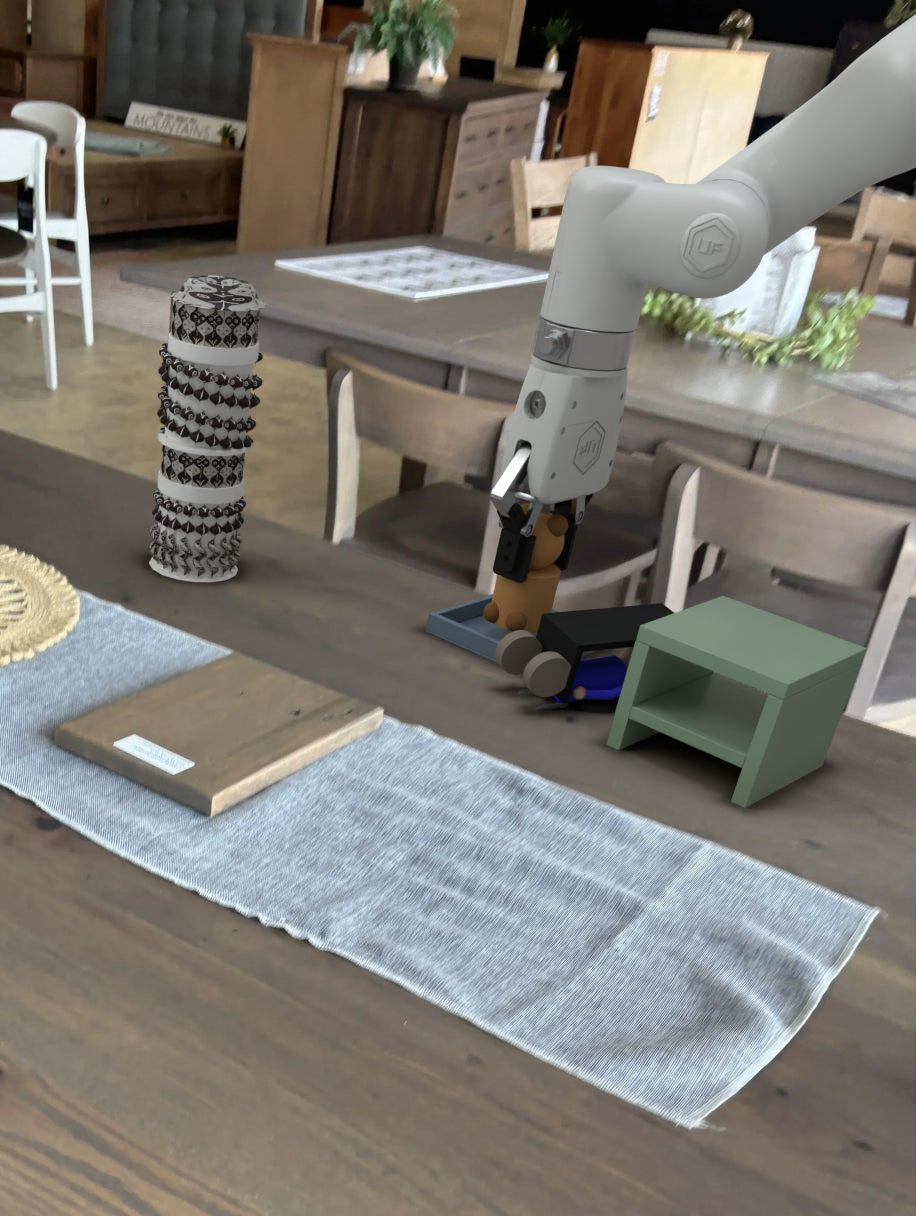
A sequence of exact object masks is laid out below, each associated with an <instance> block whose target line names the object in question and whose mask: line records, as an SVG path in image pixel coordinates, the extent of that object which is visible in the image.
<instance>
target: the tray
mask: <svg viewBox="0 0 916 1216" xmlns="http://www.w3.org/2000/svg"><path fill="white" fill-rule="evenodd" d="M492 598H493V593H492V594H488V595H485V596H481V597H478V598H475V599H471V600H469V601H465V602H461V603H459V604H458V603H457V604H455V605H452V606H448V607H446V608H442V609H439V610H435V611H432V612H429V613H428V617H427V622H426V628H425V632H426V633H429V634H431V635H433V636H436V637H438V638H440V639H442V640H444V641H446V642H449V643H451V644H454V645H456V646H458V647H460V648H463V649H465V650H467V651H469V652H471V653H474V654H476V655H479V656H481V657H482V658H485V659H488V660H490V661H491V662H494V663H497V661H496V659H495V650H496V647H497V645H498V643H499V642H500V641H501V640H502V638H504V637H505V636H506V635H507V634H509V633H511V632H512V631H510V630H506V629H503V628H501V627H498V626H496V625H495V624H493V623H491V622H488V621H487V620H486V619H485V617H484V614H483V612H484V608H485V606H486V605H487V604H489V603H490V602H492ZM553 612H559V611H558V610H556V609H553V608H552V611H551V613H553ZM531 634H532V635H533V636H535V637H536V635H537V633H531ZM598 651H599V650H597V651H587V652H583V654H582V657H585V656H587V655H589V654H593V653H595V652H598ZM497 664H498V663H497Z"/></svg>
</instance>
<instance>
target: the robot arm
mask: <svg viewBox="0 0 916 1216" xmlns="http://www.w3.org/2000/svg"><path fill="white" fill-rule="evenodd" d="M915 168H916V13H915V14H913V16H911V17H909V18H908V19H907V20H906V21H904V22H903V23H901V25H899V26H898V27H896V28H895V29H893V30H892V31H890V32H889V33H888V34H886V36H884V37H882V38H881V39H880V40H879V41H878V42H876V43H875V44H873V45H872V46H871V47H869V48H868V49H867V50H866V51H864V52H863V53H862V54H860V55H859V56H858V57H857V58H856V59H854V61H853V62H851V63H850V64H849V65H848V66H847V67H845V69H844V70H843V71H842V72H841V73H840V74H838V75H837V77H836V78H834V79H833V80H832V81H831V82H830V83H829V84H828V85H826V86H825V87H824V88H823V89H821V90H820V91H819V92H818V93H816V94H815V95H814V96H813V97H811V98H810V99H808V100H807V101H806V102H805V103H803V104H802V105H801V106H799V107H798V108H797V109H794V111H793V112H791V113H790V114H789V115H787V116H785V118H783V119H782V120H780V121H779V122H778V123H776V124H775V125H774V126H772V127H771V128H770V129H768V130H766V131H765V132H764V133H763V134H762V135H760V136H758V137H757V138H756V139H754V141H752V142H751V143H749V144H748V145H747V146H745V147H744V148H743V149H742V150H740V151H738V152H737V153H736V154H735V155H733V156H732V157H730V158H729V159H728V160H726V161H725V162H724V163H722V164H721V165H720V166H718V167H716V168H715V169H714V170H712V171H711V172H710V173H708V174H707V175H705V176H704V177H703V178H701V180H699V181H698V182H696V183H671V182H666V181H665V179H664V178H663V177H661V176H660V175H658V174H655V173H653V172H650V171H646V170H641V169H636V168H628V167H621V166H612V165H588V166H585V167H582V168H580V169H579V170H576V171H575V173H574V174H573V175H572V177H571V178H570V180H569V182H568V184H567V188H566V192H565V194H564V195H565V196H564V200H563V204H562V209H561V214H560V218H559V222H558V228H557V232H556V236H555V237H556V238H555V242H554V246H553V251H552V256H551V260H550V266H549V270H548V276H547V280H546V285H545V289H544V294H543V298H542V302H541V307H540V312H539V316H538V321H537V326H536V330H535V336H534V340H533V344H532V349H531V353H530V359H529V361H530V362H531V363H530V364H529V367H528V370H527V373H526V375H525V378H524V380H523V382H522V386H521V389H520V392H519V395H518V399H517V402H516V406H515V409H514V411H513V415H512V419H511V422H510V426H509V430H508V433H507V438H506V442H505V446H504V451H503V456H502V459H501V467H500V473H499V479H498V480H497V482H496V484H495V485H494V487H493V489H492V490H491V492H490V495H489V499H490V501H491V503H492V504H493V506H494V508H495V510H496V514H497V516H498V518H499V520H498V527H499V528H500V529H501V530H500V533H499V538H498V543H497V547H496V552H495V557H494V561H493V566H492V572H493V574H495V575H500V576H502V577H505V578H507V579H510V580H512V581H515V582H517V583H522V582H525V581H526V580H527V576H528V571H529V567H530V563H531V559H532V554H533V550H534V546H535V541H536V536H534V535H531V534H532V532H533V530H534V528H535V525H536V523H537V520H538V518H539V515H540V513H542V510H543V507H544V505H549V515H550V516H553V515H562V516H564V517H565V518H566V519H567V521H568V529H567V531H566V532H565V534H564V547H563V550H562V552H561V554H560V555H559V557H558V558H557V559H556V560H555V561H554V562H553V563H552V564H554V565H556V566H557V567H558V568H559V569H560V570H561V572H562V571H566V570H567V569H568V567H569V563H570V560H571V557H572V552H573V547H574V543H575V540H576V535H577V531H578V527H579V524H580V523H581V522H582V521H583V520H584V517H585V510H586V506H587V505H588V503H589V502H590V501H591V499H592V498H593V496H594V494H596V493H598V492H600V491H601V490H604V488H605V487H606V486H607V484H609V481H610V477H611V473H612V469H613V466H614V462H615V461H614V460H615V457H616V452H617V447H618V443H619V437H620V434H621V433H620V432H621V426H622V421H623V418H624V417H623V416H624V411H625V403H626V397H627V388H628V387H627V386H628V364H629V361H630V356H631V352H632V348H633V344H634V340H635V337H636V333H637V329H638V325H639V320H640V317H641V313H642V310H643V305H644V301H645V297H646V293H647V289H648V285H652V286H654V287H658V288H661V289H664V290H667V291H670V292H673V293H675V294H679V295H682V296H684V297H685V296H686V297H690V298H695V299H706V300H707V299H714V298H719V297H723V296H725V295H728V294H730V293H732V292H734V291H737V289H739V288H741V286H743V285H744V284H745V283H746V282H747V281H748V280H749V279H750V278H751V277H752V276H753V275H754V273H755V272H756V270H757V269H758V267H759V266H760V264H761V262H762V259H763V258H764V256H765V255H766V254H768V253H769V252H771V251H772V250H774V249H775V248H777V246H779V245H780V244H782V243H784V242H786V240H788V239H789V238H791V237H792V236H794V235H795V234H797V233H798V232H800V231H801V230H803V228H805V227H806V226H808V225H810V224H811V223H812V222H814V221H815V220H817V219H818V218H819V217H821V216H823V215H824V214H826V213H827V212H829V211H831V210H832V209H834V208H835V207H837V206H839V205H840V204H841V203H843V202H845V201H847V200H848V199H850V198H851V197H853V196H855V195H857V194H858V193H860V192H862V191H864V190H865V189H867V188H869V187H871V186H873V185H876V184H877V183H880V182H882V181H885V180H887V179H890V178H892V177H895V176H898V175H900V174H903V173H906V172H909V171H910V170H913V169H915ZM527 488H529V493H527V492H525V491H524V489H527ZM522 501H524V502H527V503H528V504H530V505H529V508H528V511H527V513H526V516H525V514H524V511H523V509H522V507H521V502H522Z"/></svg>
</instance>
